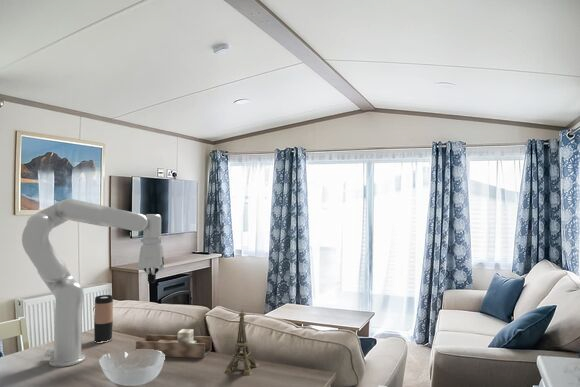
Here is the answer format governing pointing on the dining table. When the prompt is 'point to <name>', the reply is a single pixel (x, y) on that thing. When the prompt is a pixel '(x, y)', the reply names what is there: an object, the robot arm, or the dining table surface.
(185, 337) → the block
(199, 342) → the box
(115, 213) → the robot arm
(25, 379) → the dining table surface
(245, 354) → the eiffel tower
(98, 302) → the travel mug
